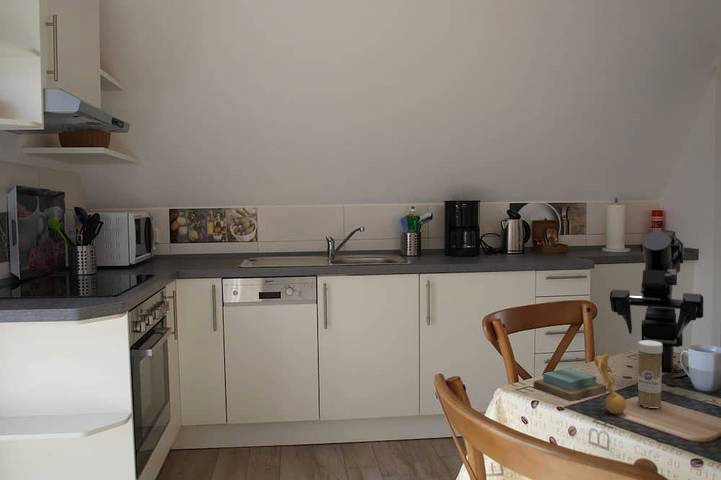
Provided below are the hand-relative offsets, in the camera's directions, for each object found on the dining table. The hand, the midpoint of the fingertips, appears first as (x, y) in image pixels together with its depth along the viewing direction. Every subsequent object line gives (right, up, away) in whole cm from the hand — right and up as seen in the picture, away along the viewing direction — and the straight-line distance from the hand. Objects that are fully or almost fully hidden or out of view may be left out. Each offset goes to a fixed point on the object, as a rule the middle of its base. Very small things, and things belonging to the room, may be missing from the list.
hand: (653, 334), depth 129 cm
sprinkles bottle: (-4, -14, -6) cm, 16 cm away
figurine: (-13, -14, -9) cm, 22 cm away
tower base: (-16, -13, +5) cm, 22 cm away
